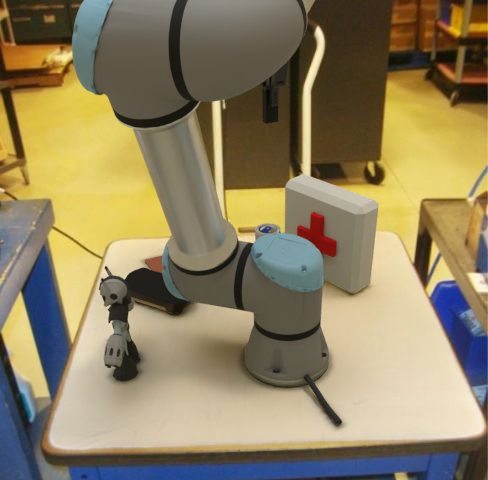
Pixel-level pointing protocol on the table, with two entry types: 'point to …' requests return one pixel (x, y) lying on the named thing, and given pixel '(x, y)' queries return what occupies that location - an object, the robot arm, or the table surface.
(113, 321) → the robot
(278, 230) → the beverage can
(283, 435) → the table surface
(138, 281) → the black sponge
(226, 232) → the robot arm
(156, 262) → the pad
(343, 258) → the bevelled white case
